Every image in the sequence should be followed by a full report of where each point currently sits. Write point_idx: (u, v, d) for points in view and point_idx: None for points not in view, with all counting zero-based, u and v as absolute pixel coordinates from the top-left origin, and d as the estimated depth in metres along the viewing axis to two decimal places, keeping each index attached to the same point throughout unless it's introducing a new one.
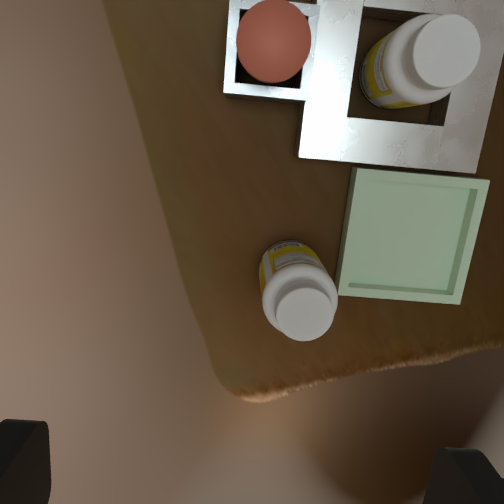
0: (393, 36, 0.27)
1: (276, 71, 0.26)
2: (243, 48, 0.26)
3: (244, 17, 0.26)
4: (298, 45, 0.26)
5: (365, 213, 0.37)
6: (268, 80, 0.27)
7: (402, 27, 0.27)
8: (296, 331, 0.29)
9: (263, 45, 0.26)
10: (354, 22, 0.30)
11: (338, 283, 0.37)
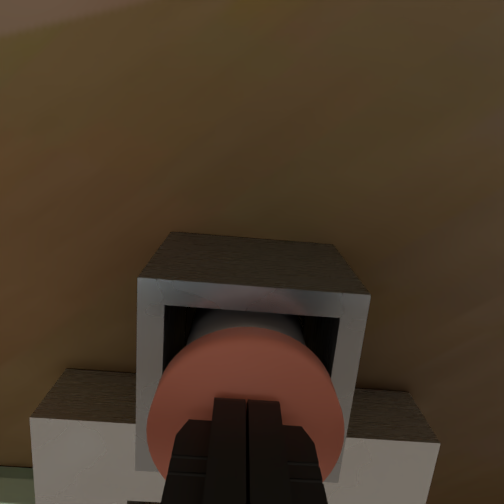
0: None
1: (171, 444, 0.10)
2: (225, 365, 0.09)
3: (303, 366, 0.09)
4: None
5: None
6: (149, 423, 0.10)
7: None
8: None
9: None
10: None
11: None
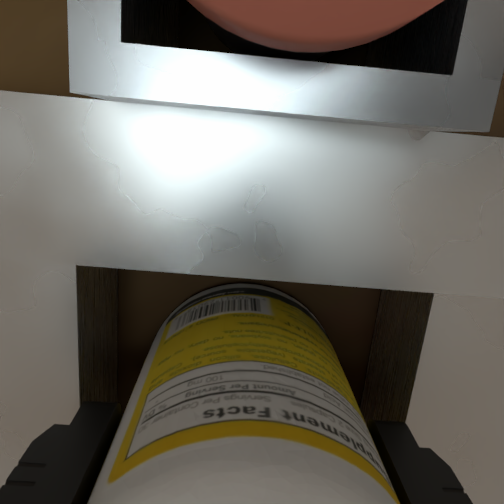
0: (347, 482, 0.06)
1: None
2: None
3: None
4: None
5: None
6: None
7: None
8: None
9: None
10: (387, 269, 0.09)
11: None
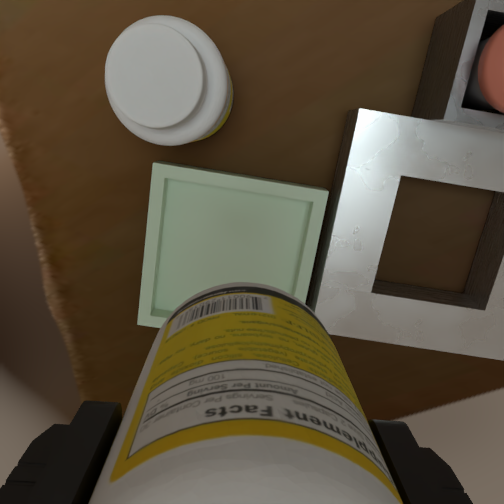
0: (350, 481, 0.06)
1: (501, 64, 0.20)
2: None
3: None
4: None
5: (263, 203, 0.28)
6: (491, 53, 0.20)
7: None
8: (123, 59, 0.17)
9: None
10: None
11: (169, 164, 0.26)
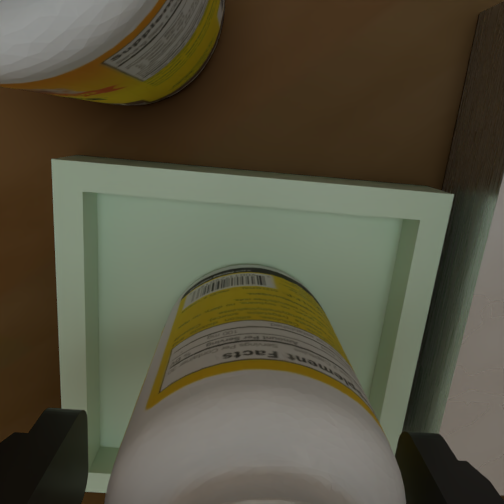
0: (340, 403, 0.07)
1: None
2: None
3: None
4: None
5: (305, 230, 0.13)
6: None
7: (370, 436, 0.07)
8: None
9: None
10: None
11: (91, 161, 0.12)
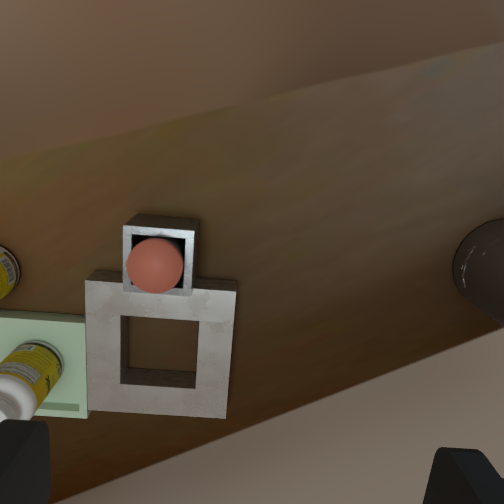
0: (15, 380, 0.37)
1: (133, 270, 0.35)
2: (147, 246, 0.35)
3: (168, 246, 0.35)
4: (152, 284, 0.36)
5: (51, 330, 0.43)
6: (127, 264, 0.35)
7: (20, 386, 0.37)
8: None
9: (150, 260, 0.35)
10: (188, 315, 0.41)
11: None
